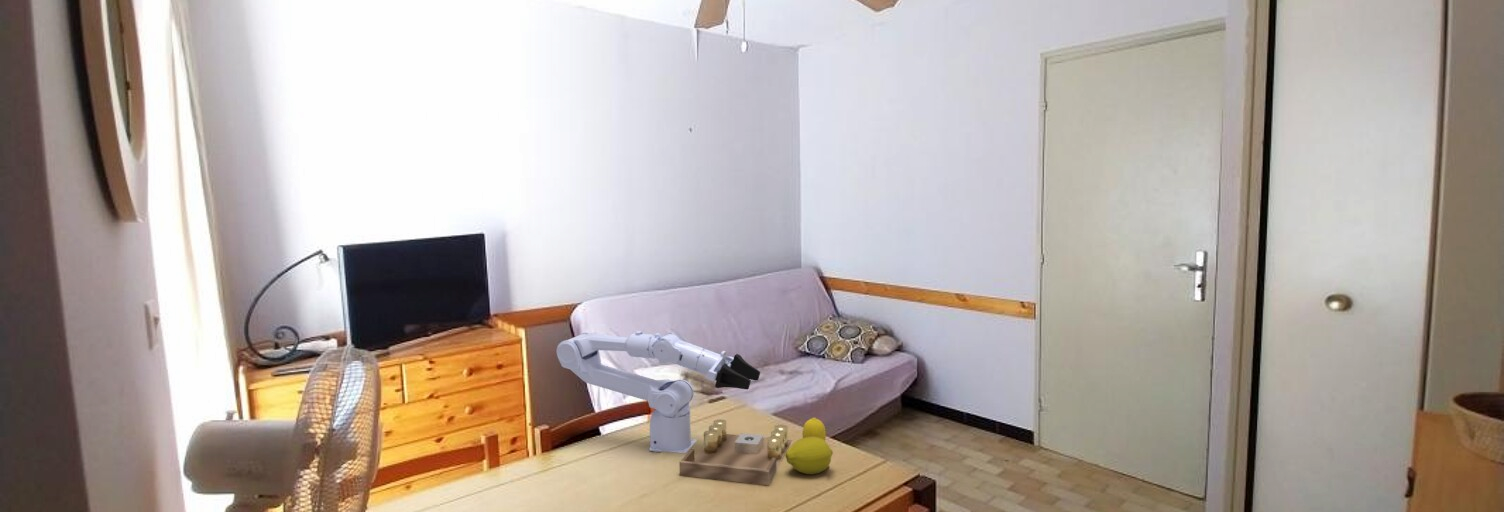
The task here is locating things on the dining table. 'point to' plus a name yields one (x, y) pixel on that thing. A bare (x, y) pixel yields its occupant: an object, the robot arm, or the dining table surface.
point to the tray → (732, 464)
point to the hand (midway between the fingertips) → (754, 380)
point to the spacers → (719, 434)
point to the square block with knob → (749, 443)
